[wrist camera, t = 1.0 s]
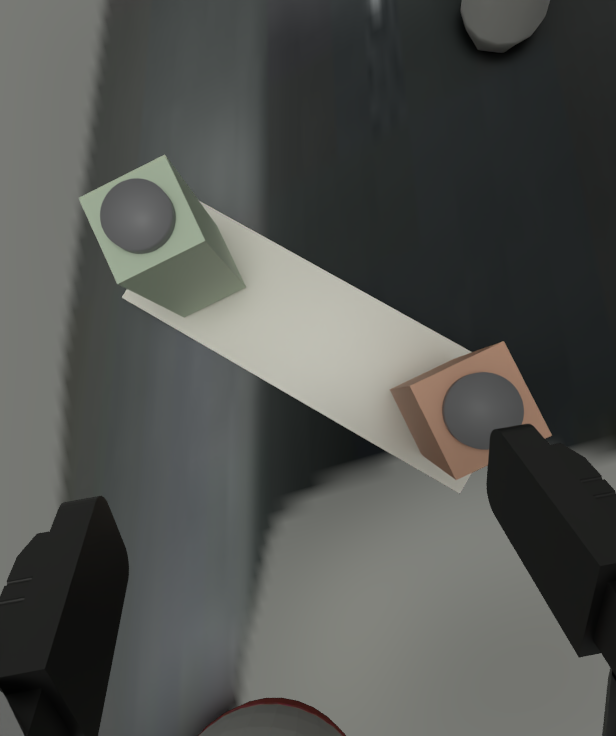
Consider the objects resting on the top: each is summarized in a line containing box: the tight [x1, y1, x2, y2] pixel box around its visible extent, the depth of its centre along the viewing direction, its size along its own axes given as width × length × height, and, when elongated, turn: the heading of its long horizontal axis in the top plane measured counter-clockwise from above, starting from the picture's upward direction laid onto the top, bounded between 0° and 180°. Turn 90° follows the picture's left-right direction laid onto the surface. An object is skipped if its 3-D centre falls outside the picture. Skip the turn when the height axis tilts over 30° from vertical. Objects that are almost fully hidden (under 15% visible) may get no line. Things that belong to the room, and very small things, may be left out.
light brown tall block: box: [390, 341, 552, 480], centre depth 31 cm, size 5×5×12 cm
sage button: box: [79, 155, 246, 317], centre depth 33 cm, size 5×5×12 cm
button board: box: [122, 201, 472, 494], centre depth 39 cm, size 28×9×1 cm, turn 60°
